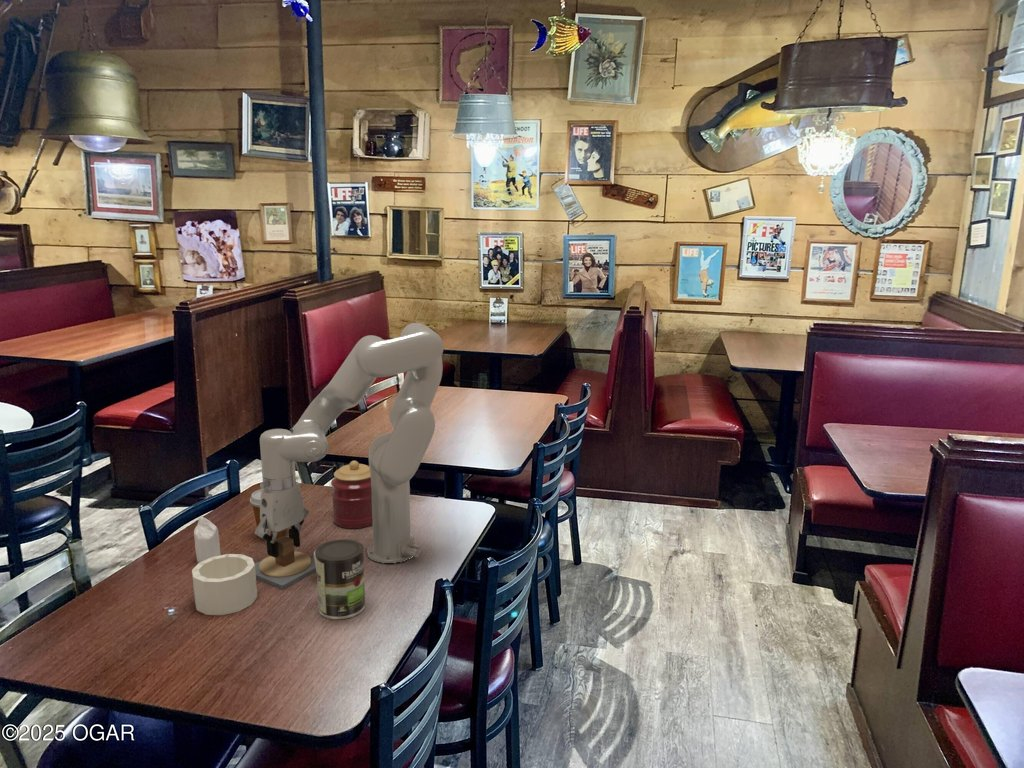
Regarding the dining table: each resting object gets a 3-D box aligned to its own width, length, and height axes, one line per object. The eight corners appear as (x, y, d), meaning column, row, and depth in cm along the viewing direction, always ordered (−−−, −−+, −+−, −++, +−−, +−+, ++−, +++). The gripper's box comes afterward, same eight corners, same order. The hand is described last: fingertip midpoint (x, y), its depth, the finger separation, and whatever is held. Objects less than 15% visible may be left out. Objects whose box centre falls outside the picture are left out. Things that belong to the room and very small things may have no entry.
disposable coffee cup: (244, 539, 197) (241, 497, 194) (269, 525, 205) (266, 484, 202) (273, 545, 193) (270, 502, 190) (297, 531, 202) (294, 490, 199)
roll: (222, 512, 184) (207, 521, 179) (225, 556, 187) (211, 566, 182) (201, 509, 186) (186, 518, 181) (205, 552, 189) (190, 562, 183)
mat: (327, 565, 183) (326, 561, 183) (282, 589, 171) (282, 585, 171) (288, 551, 190) (287, 547, 190) (242, 573, 179) (242, 569, 178)
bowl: (268, 595, 169) (266, 563, 167) (220, 621, 158) (217, 587, 156) (231, 580, 175) (229, 549, 173) (183, 604, 165) (179, 571, 163)
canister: (357, 506, 218) (355, 450, 214) (389, 518, 211) (387, 459, 207) (323, 521, 208) (320, 462, 204) (355, 533, 201) (352, 472, 196)
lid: (321, 562, 182) (319, 536, 181) (282, 582, 173) (280, 556, 171) (287, 549, 189) (286, 525, 187) (248, 568, 179) (246, 543, 177)
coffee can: (375, 603, 166) (373, 546, 163) (342, 625, 157) (339, 564, 154) (341, 590, 171) (339, 534, 168) (308, 610, 163) (304, 552, 159)
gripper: (260, 496, 166) (266, 569, 171) (317, 473, 180) (321, 541, 185) (238, 489, 170) (244, 560, 174) (296, 467, 184) (300, 534, 189)
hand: (284, 550), depth 180 cm, fingers open, 6 cm apart
